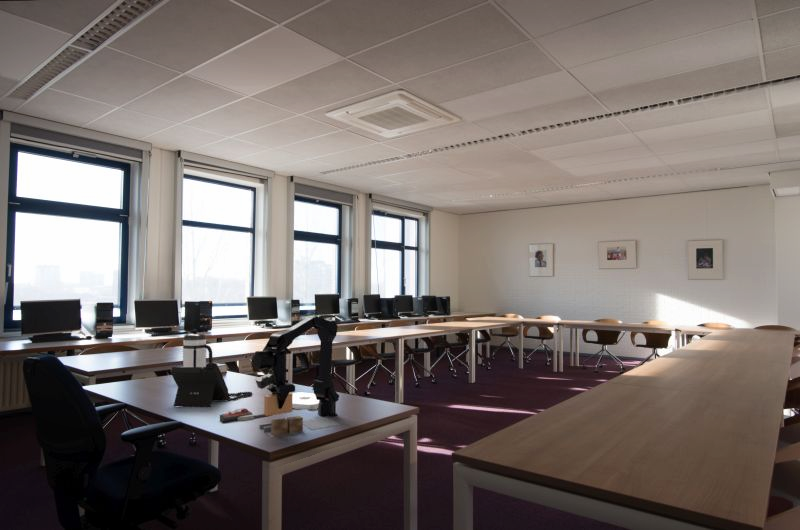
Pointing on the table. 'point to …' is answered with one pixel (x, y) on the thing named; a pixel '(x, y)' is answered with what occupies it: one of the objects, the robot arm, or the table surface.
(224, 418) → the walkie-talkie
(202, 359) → the coffee press
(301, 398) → the white plate
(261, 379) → the robot arm
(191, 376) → the office phone
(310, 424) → the mat
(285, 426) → the offcut
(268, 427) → the rack
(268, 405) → the light brown flat block
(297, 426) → the offcut
